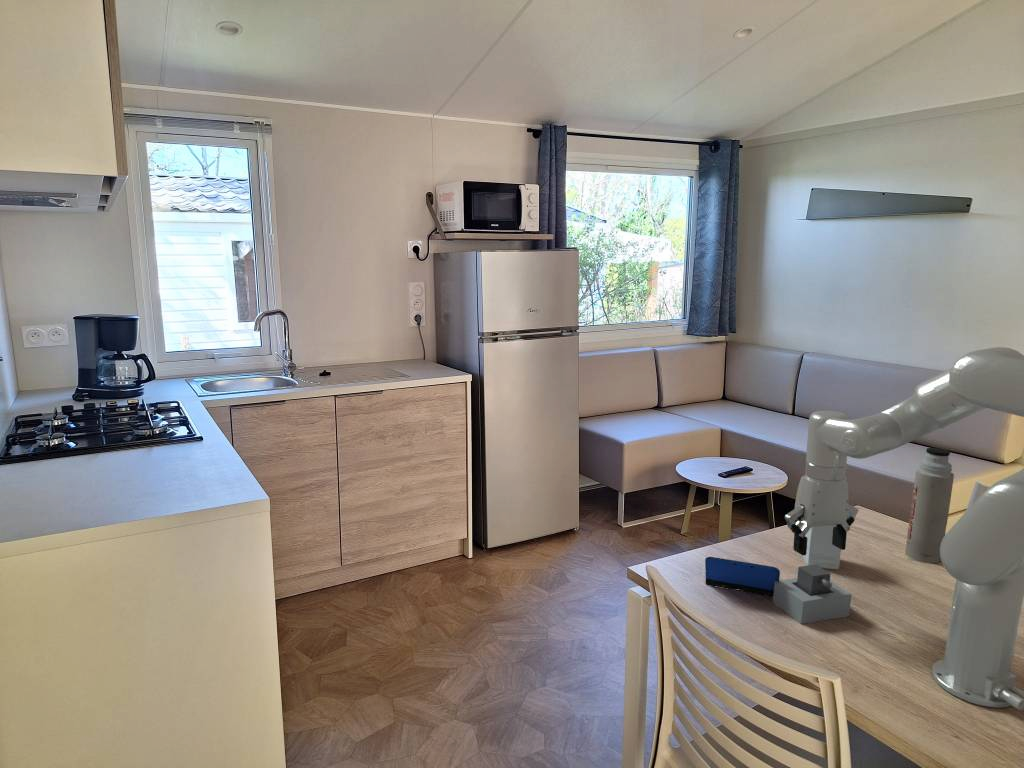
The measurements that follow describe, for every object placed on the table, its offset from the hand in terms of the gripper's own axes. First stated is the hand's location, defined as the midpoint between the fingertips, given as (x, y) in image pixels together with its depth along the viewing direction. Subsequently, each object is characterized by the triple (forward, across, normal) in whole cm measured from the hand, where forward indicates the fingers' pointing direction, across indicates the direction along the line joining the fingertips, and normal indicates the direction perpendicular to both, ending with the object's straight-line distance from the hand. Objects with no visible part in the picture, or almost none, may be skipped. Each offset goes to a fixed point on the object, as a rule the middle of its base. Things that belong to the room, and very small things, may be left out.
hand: (819, 550), depth 141 cm
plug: (+13, 0, 0) cm, 13 cm away
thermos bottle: (+14, -46, -16) cm, 50 cm away
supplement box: (+14, -18, -20) cm, 30 cm away
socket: (+14, 0, -1) cm, 14 cm away
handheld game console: (+14, +9, -14) cm, 21 cm away
